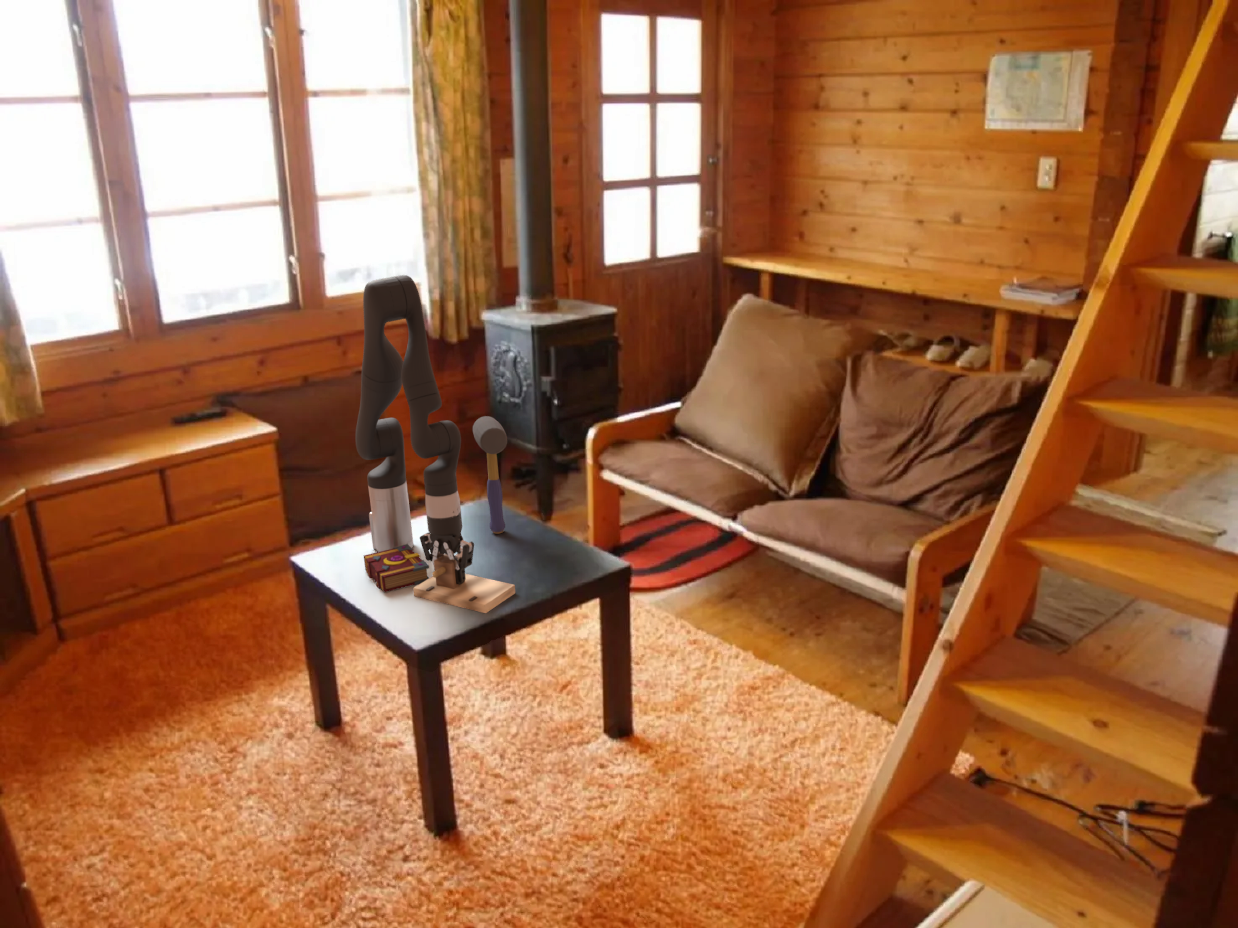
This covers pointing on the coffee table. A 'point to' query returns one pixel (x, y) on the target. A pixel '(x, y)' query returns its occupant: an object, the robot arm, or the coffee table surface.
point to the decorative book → (396, 568)
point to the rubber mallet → (492, 466)
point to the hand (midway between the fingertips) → (450, 580)
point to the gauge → (445, 572)
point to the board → (467, 593)
